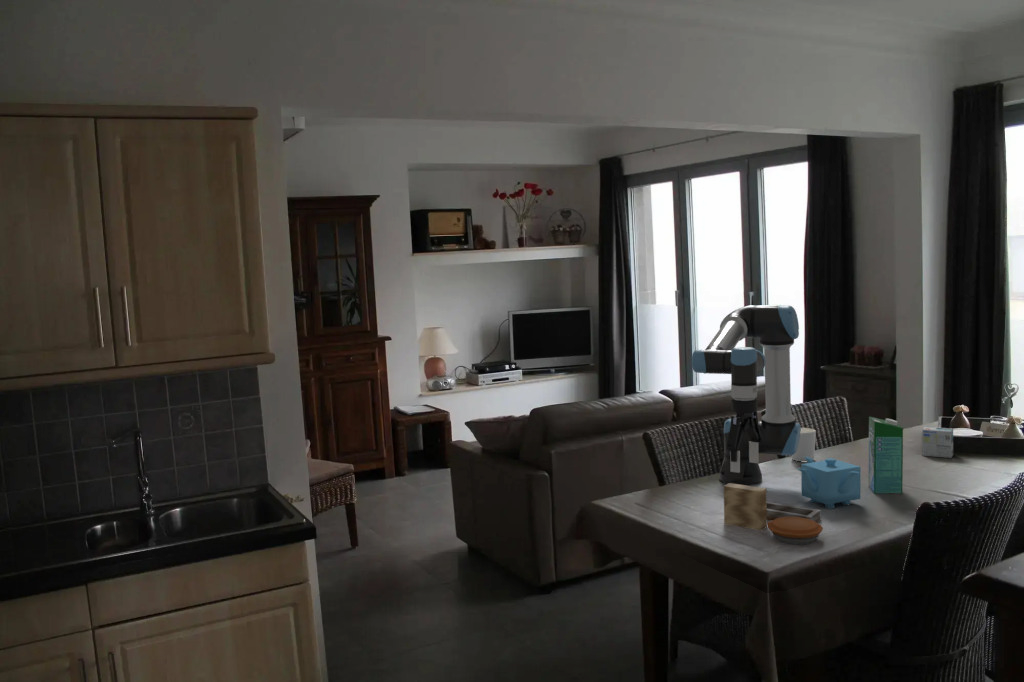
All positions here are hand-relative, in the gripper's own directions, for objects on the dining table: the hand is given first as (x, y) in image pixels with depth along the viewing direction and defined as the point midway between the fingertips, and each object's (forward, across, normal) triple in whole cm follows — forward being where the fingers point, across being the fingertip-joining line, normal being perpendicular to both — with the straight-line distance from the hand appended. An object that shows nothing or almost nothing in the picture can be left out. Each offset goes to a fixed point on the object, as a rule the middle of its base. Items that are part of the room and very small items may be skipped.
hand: (744, 467), depth 257 cm
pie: (+19, -3, -17) cm, 25 cm away
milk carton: (+18, +61, -24) cm, 68 cm away
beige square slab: (+18, 0, 0) cm, 18 cm away
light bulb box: (+18, +122, -27) cm, 126 cm away
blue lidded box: (+18, +36, -13) cm, 43 cm away
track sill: (+18, +13, -7) cm, 23 cm away
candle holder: (+18, +89, +15) cm, 92 cm away
